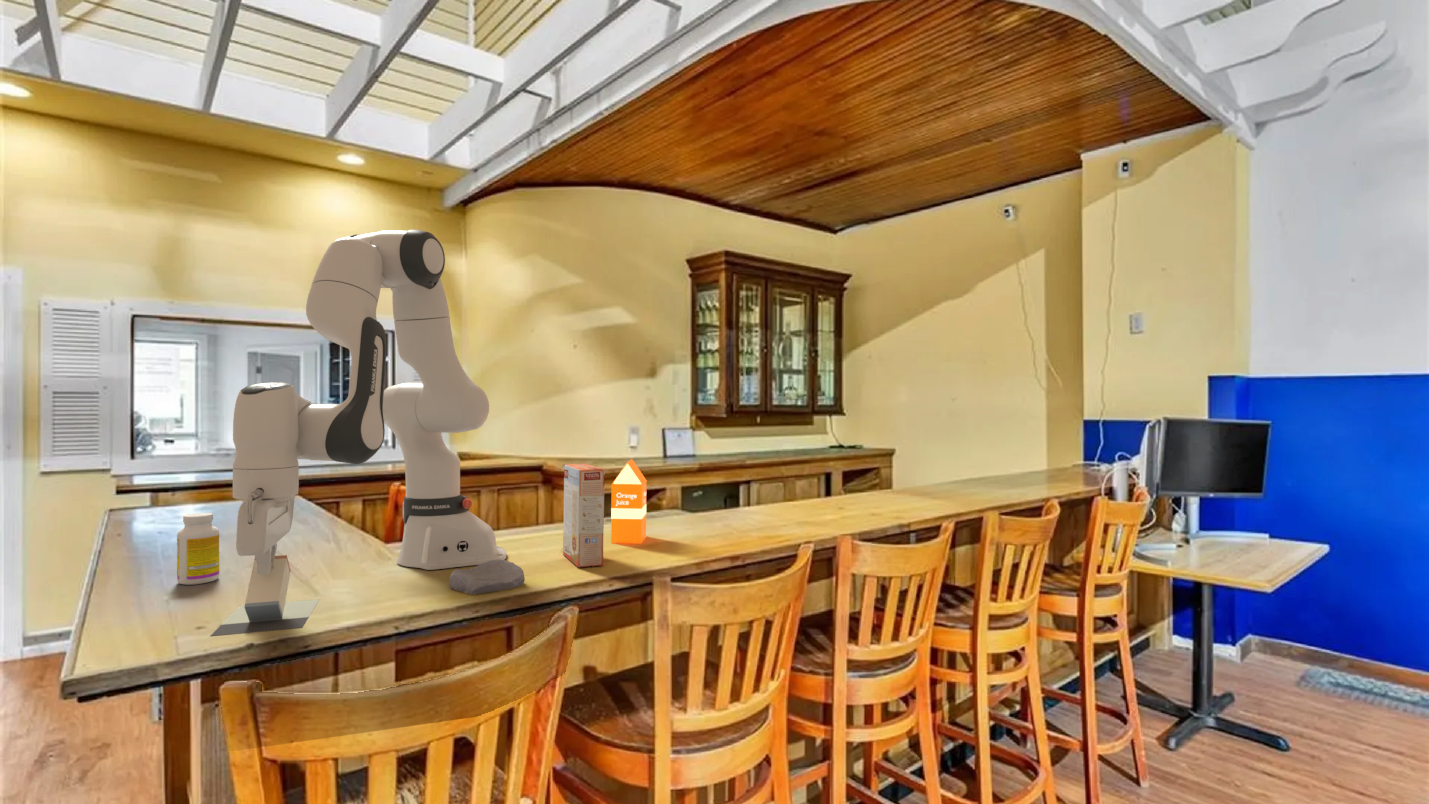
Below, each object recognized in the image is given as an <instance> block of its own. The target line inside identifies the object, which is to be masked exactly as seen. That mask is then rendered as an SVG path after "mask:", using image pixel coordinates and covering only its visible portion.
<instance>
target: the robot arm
mask: <svg viewBox="0 0 1429 804" xmlns="http://www.w3.org/2000/svg"><path fill="white" fill-rule="evenodd" d="M445 263H446V255H445V251H444V247H443V246H442V244H441V242H440V241H439V240H438V238H437V237H436V235H434V234H433V233H432V232H429V231H426V230H422V229H414V228H413V229H408V230H404V229H403V230H401V229H398V230H397V229H391V230H389V229H387V230H380V231H377V232H369V233H364V234H352V235H349V236H345V237H341V238H337V239H336V240H334V241H332V243H330V245H328V248H327V249H326V251H325V253H324V254H323V256H322V257H321V260H320V262H319V264H318V267H317V269H316V271H315V274H314V276H313V280H312V283H311V284H310V285H311V286H310V289H309V293H308V295H307V298H306V299H307V300H306V304H305V305H306V306H305V313H306V317H307V320H308V321H309V324H310V325H311V327H312V328H313V329H314V330H315V332H317V333H318V334H319V335H320V336H322V337H323V338H325V339H327V340H329V342H332V343H334V344H336V345H339V346H340V347H343V348H346V349H348V350H349V352H350V356H351V364H350V365H351V366H350V376H349V384H348V385H349V387H348V395H347V397H346V399H345V400H343V402H341V403H318V402H317V403H315V402H314V403H313V402H312V401H309V400H307V399H305V398H303V397H302V396H301V395H299V394H298V393H297V392H296V390H295V387H294V385H293V384H290V383H289V382H288V383H287V382H283V381H280V382H279V381H276V382H275V381H274V382H273V381H272V382H270V381H269V382H264V383H263V382H261V383H255V384H251V385H246V386H245V387H243V388H242V389H240V390H239V392H238V394H237V396H236V400H235V404H234V410H233V411H234V412H233V420H232V421H233V422H232V441H233V444H234V447H235V458H234V461H233V464H232V499H236V500H242V501H241V502H242V504H240V506H239V508H238V512H237V521H236V537H235V538H236V540H235V541H236V542H235V545H236V553H237V555H238V556H240V557H242V556H243V557H245V556H250V557H251V556H254V559H256V563H257V573H258V574H259V575H263V574H269V573H270V572H271V571H272V570H273V569H274V558H275V556H276V553H277V548H278V542H279V541H281V539H282V538H284V537H285V536H286V535H287V534H288V533H290V531H291V529H292V525H293V519H294V508H295V507H294V506H295V498H296V496H298V494H299V488H300V487H299V486H300V481H299V479H300V478H299V461H298V460H307V461H320V462H321V461H323V462H324V461H325V462H327V461H328V462H329V461H330V462H336V463H344V464H351V465H360V464H363V463H366V462H367V461H369V460H370V459H371V458H372V457H373V456H375V455H376V453H377V452H378V451H379V450H380V448H382V445H383V444H384V442H385V441H384V440H385V433H386V432H385V425H386V426H387V427H388V428H389V429H390V430H391V431H392V433H393V434H394V436H395V438H396V440H397V442H398V444H399V447H400V450H401V452H402V456H403V460H404V471H405V472H404V473H405V496H404V497H403V502H402V520H403V524H404V526H403V535H402V543H401V546H400V552H399V555H398V558H397V561H396V563H397V564H398V565H400V566H403V567H407V568H408V567H409V568H419V569H423V570H426V571H428V570H429V571H430V570H431V571H433V570H440V569H441V570H442V569H443V570H444V569H453V568H459V567H468V566H470V567H471V566H478V565H479V564H482V563H485V562H488V561H491V560H497V559H498V560H506V559H507V551H506V549H505V548H503V547H501V546H498V545H497V540H496V536H495V535H496V534H495V532H494V530H493V528H492V527H491V525H489V524H488V523H487V522H485V521H483V520H482V519H481V518H479V517H478V516H476V515H475V514H474V513H472V512H471V511H469V510H470V509H471V507H473V501H472V498H471V499H470V498H469V497H467V496H465V495H463V494H462V493H461V463H460V462H461V461H460V459H459V458H458V457H459V456H457V454H455V453H454V452H453V451H452V450H450V449H449V448H448V446H447V445H446V444H445V441H444V440H443V436H442V433H449V434H450V433H451V434H453V433H454V434H459V433H464V432H470V431H473V430H478V429H479V428H481V427H482V426H483V425H484V423H485V422H486V421H487V419H488V415H489V413H490V402H489V398H488V396H487V394H486V392H485V391H484V390H483V388H482V387H480V386H479V385H477V384H476V383H475V382H474V381H473V380H472V379H471V378H470V377H469V375H467V373H466V371H465V370H464V368H463V367H462V364H461V363H460V360H459V358H458V356H457V352H456V350H455V343H454V340H453V333H452V331H453V330H452V327H451V319H450V312H449V311H450V310H449V306H448V299H447V295H446V292H445V289H444V285H443V282H442V279H441V277H442V275H443V273H444V270H445V265H446V264H445ZM381 289H390V290H391V292H392V293H391V294H392V298H391V299H392V313H393V323H394V329H395V330H394V331H395V338H396V345H397V352H398V356H399V357H400V359H401V360H402V361H403V362H405V363H406V364H407V365H408V366H411V368H412V369H413V370H415V372H416V374H417V375H418V378H419V380H420V381H408V382H402V383H398V384H394V385H390V386H387V387H386V388H385V379H386V368H387V367H386V366H387V365H386V364H387V334H386V330H385V328H384V326H383V325H382V324H381V322H379V321H378V320H377V319H378V318H377V307H378V302H379V298H380V294H381Z"/></svg>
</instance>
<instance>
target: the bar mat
mask: <svg viewBox="0 0 1429 804" xmlns="http://www.w3.org/2000/svg"><path fill="white" fill-rule="evenodd" d="M319 601H320V599H308V600H307V599H305V600H294V601H285V606H284V612H283V618H282V619H276V620H265V621H253V622H249V619H248V616H247V613H246V610H245V607H244V606H245V604H244V605H239V606H238V607H237V608H235V610H234V611H233V612H232V613H231V614H229V616H228V617H227V618H226V619H225V620H224V621H223V622H222V623H221V624H220V625H219V626H218V628H216V629H215V630H214V631H213V633H211V634H210V637H218V636H229V635H230V636H231V635H240V634H241V635H242V634H250V633H251V634H252V633H261V632H271V631H272V632H273V631H274V632H275V631H284V630H295V629H302V628H303V627H304V626H305V625H306V622H307V621H308V620H309V618H310V616H311V614H312V612H313V611H314V609H315V608H316V606H317V604H318V603H319Z"/></svg>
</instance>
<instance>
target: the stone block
mask: <svg viewBox="0 0 1429 804" xmlns="http://www.w3.org/2000/svg"><path fill="white" fill-rule="evenodd" d="M525 578H526V577H525V573H524V570H523V569H522V568H521V566H519V565H517V564H515V563H514V562H511V561H508V560H506V559H504V560H498V559H497V560H491V561H488V562H485V563H482V564H479V565H475V567H473V568H468V569H460V568H456V569H454V570H453V571H452V572H451V574H450V577H449V580H448V582H449V583H448V584H449V587H450V589H451V590H454V591H458V592H463V593H465V594H466V595H467V594H468V595H470V594H471V596H473V595H478V594H485V593H489V592H490V593H491V592H500V591H504V590H511V589H515V588H518V587H520V586H523V585H525V581H526V580H525Z"/></svg>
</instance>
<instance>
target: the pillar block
mask: <svg viewBox="0 0 1429 804" xmlns="http://www.w3.org/2000/svg"><path fill="white" fill-rule="evenodd" d="M253 560H254V561H253V565H252V569H251V574H250V580H249V584H248V588H247V594H246V598H245V603H244V605H245V606H244V607H245V610H246V613H247V616H248V619H249V622H253V621H265V620H276V619H282V618H283V612H284V606H285V602H287V601H286V599H287V594H288V589H289V581H290V578H291V577H290V576H291V566H290V563H289V558H288V556H287V554H285V555H283V554H282V555H275V558H274V569H273V570H272V571H271V572H270V573H269V574H263V575H259V574H258V573H257V563H256V559H255V558H254V559H253Z"/></svg>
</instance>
